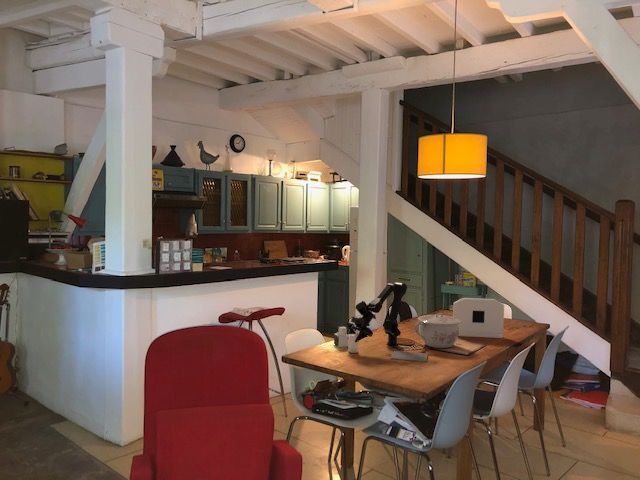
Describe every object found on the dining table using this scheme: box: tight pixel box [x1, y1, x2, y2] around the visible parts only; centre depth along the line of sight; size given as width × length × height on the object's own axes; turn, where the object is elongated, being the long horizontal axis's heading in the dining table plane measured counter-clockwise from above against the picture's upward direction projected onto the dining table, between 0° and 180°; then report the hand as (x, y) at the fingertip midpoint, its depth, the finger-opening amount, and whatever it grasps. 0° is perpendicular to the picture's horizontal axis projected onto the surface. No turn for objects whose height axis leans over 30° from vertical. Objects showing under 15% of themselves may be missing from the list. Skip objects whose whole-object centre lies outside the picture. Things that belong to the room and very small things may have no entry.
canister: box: [347, 333, 360, 354], centre depth 311 cm, size 6×6×10 cm
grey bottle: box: [333, 325, 349, 348], centre depth 326 cm, size 7×7×12 cm
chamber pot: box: [414, 312, 462, 349], centre depth 331 cm, size 28×28×21 cm
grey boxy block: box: [452, 297, 505, 339], centre depth 368 cm, size 33×24×26 cm
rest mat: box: [390, 350, 429, 363], centre depth 304 cm, size 16×20×1 cm
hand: (351, 340), depth 310 cm, fingers closed on canister, 6 cm apart
